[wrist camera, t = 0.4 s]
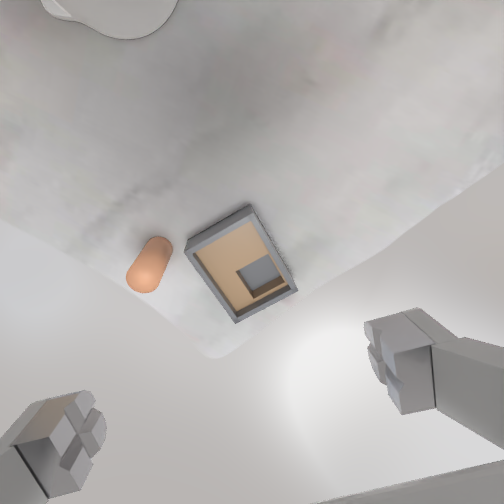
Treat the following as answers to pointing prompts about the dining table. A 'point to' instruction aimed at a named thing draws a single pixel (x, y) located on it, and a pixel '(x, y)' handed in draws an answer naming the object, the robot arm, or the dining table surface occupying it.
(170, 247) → the peg
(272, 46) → the dining table surface
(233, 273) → the bore box
